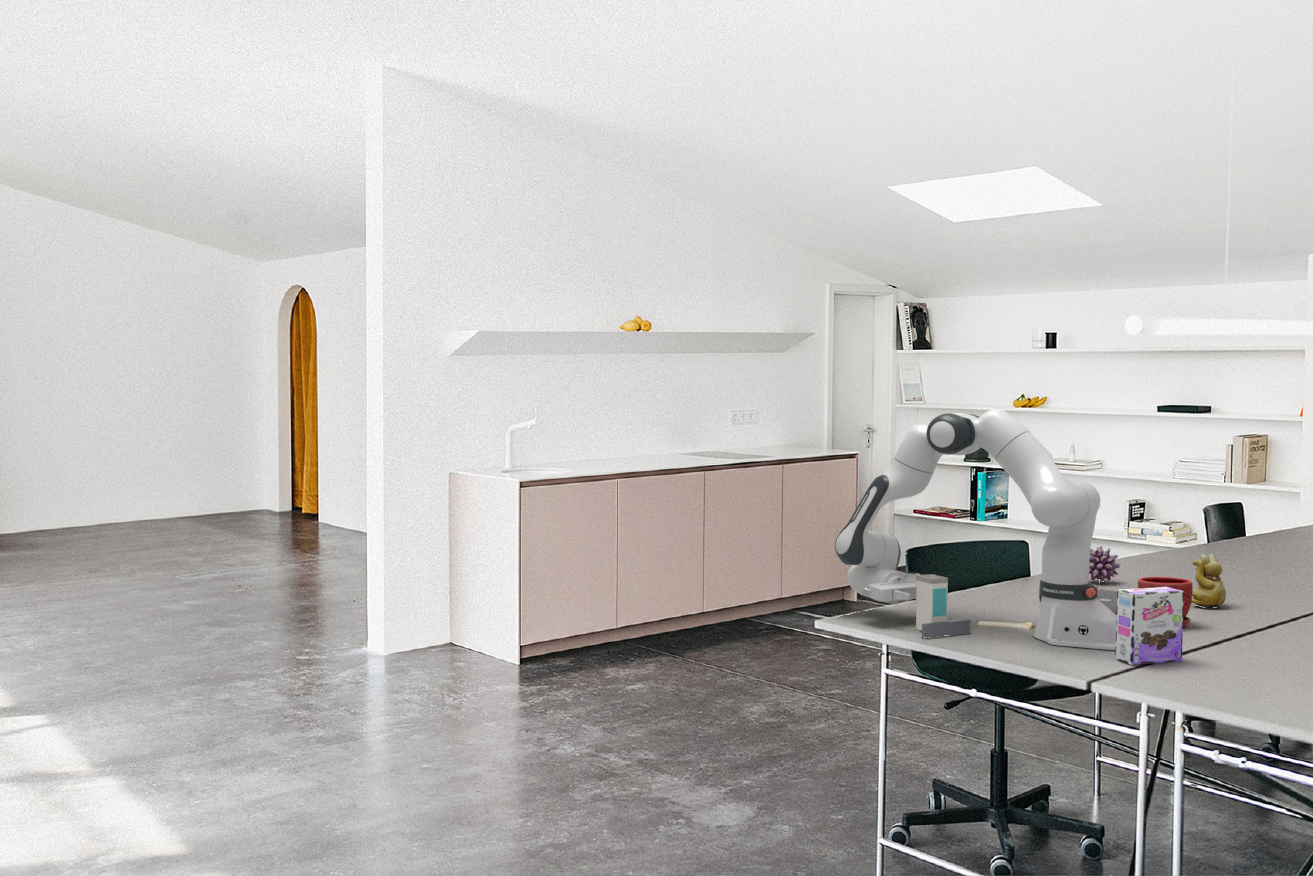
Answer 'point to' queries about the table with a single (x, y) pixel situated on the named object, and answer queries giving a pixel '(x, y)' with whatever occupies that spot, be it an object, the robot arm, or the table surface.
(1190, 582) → the plant pot
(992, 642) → the table surface
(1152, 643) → the candy box
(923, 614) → the carton
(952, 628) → the rail
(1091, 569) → the purple spiky ball
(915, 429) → the robot arm
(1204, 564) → the decorative figurine
